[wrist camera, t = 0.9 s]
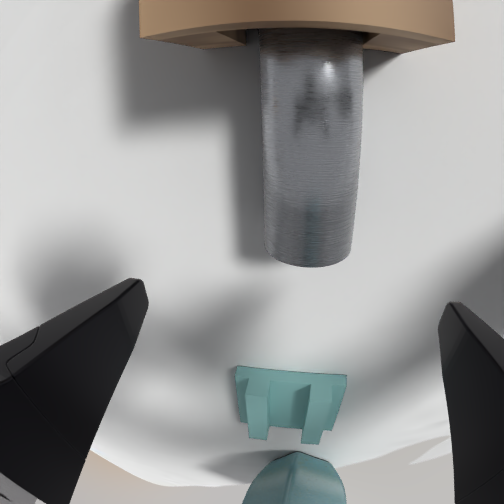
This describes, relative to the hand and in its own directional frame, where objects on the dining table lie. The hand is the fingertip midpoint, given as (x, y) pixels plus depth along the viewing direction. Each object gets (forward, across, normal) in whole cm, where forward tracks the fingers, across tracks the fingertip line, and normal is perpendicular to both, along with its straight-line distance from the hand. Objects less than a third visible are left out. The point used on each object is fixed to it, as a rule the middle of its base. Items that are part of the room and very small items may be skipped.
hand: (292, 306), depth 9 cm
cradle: (+8, 0, +16) cm, 18 cm away
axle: (+8, 0, -6) cm, 10 cm away
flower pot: (+8, -2, +30) cm, 32 cm away
